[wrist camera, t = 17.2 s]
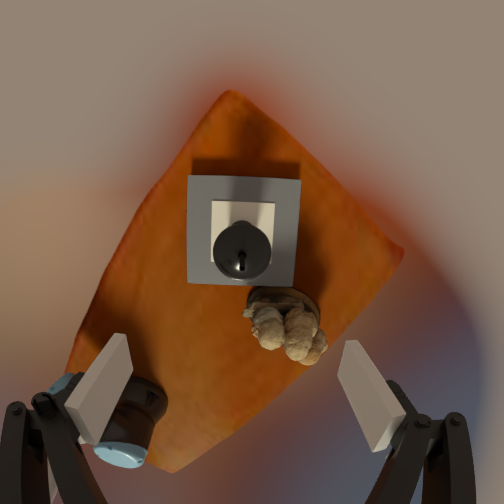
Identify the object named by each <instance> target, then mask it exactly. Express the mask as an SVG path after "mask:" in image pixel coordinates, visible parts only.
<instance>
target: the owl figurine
mask: <svg viewBox="0 0 504 504" xmlns="http://www.w3.org/2000/svg"><path fill="white" fill-rule="evenodd" d="M288 311H289V312H288ZM287 312H288V313H287ZM286 313H287V314H286ZM282 314H286V315H285V316H284V315H282ZM242 316H244V317H250V319H251V321H252V322H253V326H252V327H251V331H252V332H253V335H254V336H255V337H257V338H258V340H259V343H260V345H261V346H262V347H264V348H266V349H269V350H273V349H275V348H278V347H280V346H281V345H282V344H283V347H284V349H285V352H286V354H287V355H288V356H289V358H291V360H296V361H297V360H298V361H299V362H300V363H302V364H304V365H311V364H314V363H316V362H317V361H318V359H319V358H320V356H321V353H323V352H324V351H326V349H327V347H328V341H327V340H326V335H325V333H324V332H323V330H321V329H320V328H319V324H320V313H319V310H318V308H317V306H316V304H315V303H314V302H313V301H312V300H311V299H310V298H309V297H308V296H307V295H305V294H304V293H302V292H301V291H299V290H296V289H294V288H292V287H285V286H260V287H259V288H257V289H255V290H254V291H253V292H252V293H251V295H250V296H249V298H248V300H247V308H245V309H244V312H243V313H242Z"/></svg>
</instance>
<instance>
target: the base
mask: <svg viewBox="0 0 504 504" xmlns="http://www.w3.org/2000/svg"><path fill="white" fill-rule="evenodd" d="M300 192H301V180H295V179H281V178H265V177H245V176H212V175H188V189H187V277H188V283H199V284H221V285H248V286H285V287H293V278H294V268H295V257H296V246H297V234H298V221H299V207H300ZM239 220H244V221H248V222H249V223H251V224H252V225H253V226H255V227H257V228H259V229H260V230H262V231H263V232H264V233H265V235H266V236H267V238H268V239H269V242H270V244H271V250H272V255H271V260H270V263H269V265H268V267H267V268H266V270H265V271H264V272H263V273H262V274H261V275H259V276H258V277H256V278H254V279H251V280H246V281H238V280H233V279H231V278H229V277H227V276H225V275H224V274H223V273H221V272H220V270H219V269H218V268H217V266H216V264H215V262H214V259H213V246H214V243H215V240H216V238H217V237H218V235H219V234H220V233H221V232H222V231H223V230H224V229H225V228H227V227H229V226H231V225H232V224H233V223H234V222H236V221H239Z"/></svg>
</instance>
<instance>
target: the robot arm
mask: <svg viewBox="0 0 504 504" xmlns="http://www.w3.org/2000/svg"><path fill="white" fill-rule="evenodd" d="M132 372H133V366H132V361H131V357H130V352H129V347H128V343H127V337H126V334H120V333H114V335H113V336H112V337H111V339H110V340H109V341H108V343H107V344H106V345H105V347H104V348H103V349H102V351H101V352H100V354H99V355H98V356H97V358H96V359H95V360H94V362H93V363H92V365H91V366H90V367H89V369H88V370H87V372H86V373H83V372H79V373H77V374H76V375H75V374H74V373H71V372H68V373H66V374H64V375H63V376H62V377H61V378H59V379H58V380H57V381H56V382H55V383H54V384H53V385H52V387H50V388H49V389H48V390H47V391H46V392H41V393H38V394H36V395H35V396H34V397H33V398H32V401H31V404H32V406H33V408H34V410H28V409H27V408H26V406H25V404H24V403H22V402H19V401H16V402H13V403H11V404H10V405H8V407H7V409H6V414H5V418H4V423H3V429H2V435H1V442H0V504H52V502H53V500H54V497H55V495H56V492H57V490H59V493H60V496H61V498H62V500H63V503H64V504H108V503H107V501H106V499H105V497H104V496H103V494H102V492H101V490H100V488H99V486H98V484H97V482H96V480H95V478H94V476H93V474H92V471H91V469H90V467H89V465H88V463H87V460H86V458H85V456H84V453H83V451H82V448H81V446H80V444H84V443H90V444H93V445H94V452H95V453H96V454H97V456H98V457H100V458H101V459H103V460H104V461H106V462H109V463H110V464H113V465H116V466H120V467H125V468H135V467H139V466H141V465H142V464H143V462H144V460H145V457H146V455H147V454H148V448H149V444H150V441H151V437H152V434H153V430H154V427H155V425H156V423H157V422H158V421H159V420H160V419H161V418H162V417H163V416H164V414H165V413H166V410H167V407H168V400H167V398H166V396H165V394H164V393H163V392H162V390H161V389H160V388H158V387H157V386H156V385H154V384H153V383H151V382H149V381H147V380H145V379H142V378H138V377H130V376H131V374H132ZM337 376H338V378H339V380H340V383H341V385H342V387H343V389H344V391H345V393H346V396H347V398H348V400H349V402H350V404H351V406H352V409H353V411H354V413H355V415H356V417H357V420H358V422H359V424H360V426H361V428H362V431H363V433H364V435H365V437H366V439H367V442H368V444H369V446H370V449H371V451H372V452H376V451H379V450H383V449H386V447H387V446H388V444H389V443H391V445H392V449H391V451H390V452H389V453H388V455H387V456H386V458H385V459H386V462H385V464H384V466H383V468H382V471H381V473H380V475H379V477H378V479H377V481H376V483H375V485H374V487H373V489H372V491H371V493H370V495H369V496H368V498H367V500H366V502H365V504H410V501H411V498H412V496H413V493H414V490H415V488H416V485H417V482H418V479H419V476H420V473H421V470H422V467H424V468H423V490H422V503H421V504H476V486H475V474H474V465H473V457H472V450H471V444H470V439H469V432H468V427H467V422H466V419H465V417H464V416H463V415H462V414H460V413H458V412H451V413H449V414H447V416H446V417H445V419H444V420H431V418H430V417H428V416H427V415H424V414H418V412H417V411H416V409H415V408H414V406H413V405H412V403H411V402H410V400H409V399H408V398H407V397H406V395H405V393H404V392H403V390H402V389H401V388H400V386H399V385H398V384H397V383H395V382H394V381H393V380H388V381H385V380H384V379H383V377H382V376H381V374H380V373H379V371H378V370H377V368H376V367H375V365H374V364H373V362H372V361H371V359H370V358H369V356H368V355H367V353H366V352H365V350H364V349H363V348H362V346H361V345H360V343H359V342H358V340H350V341H346V343H345V347H344V351H343V355H342V359H341V363H340V367H339V370H338V374H337ZM423 463H424V465H423Z"/></svg>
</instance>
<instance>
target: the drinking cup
mask: <svg viewBox="0 0 504 504" xmlns="http://www.w3.org/2000/svg"><path fill="white" fill-rule="evenodd" d="M271 255H272V250H271V244H270V242H269V239H268V238H267V236H266V235H265V233H264V232H263V231H262V230H260V229H259V228H257V227H255V226H253V225H252V224H251V223H249V222H248V221H244V220H239V221H236V222H234V223H233V224H232V225H231V226H229V227H227V228H225V229H224V230H223V231H222V232H221V233H220V234H219V235H218V237H217V238H216V240H215V243H214V246H213V259H214V262H215V264H216V266H217V268H218V269H219V270H220V272H221V273H223V274H224V275H225V276H227V277H229V278H231V279H233V280H238V281H246V280H251V279H254V278H256V277H258V276H259V275H261V274H262V273H263V272H264V271H265V270H266V268H267V267H268V265H269V263H270V260H271Z"/></svg>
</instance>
